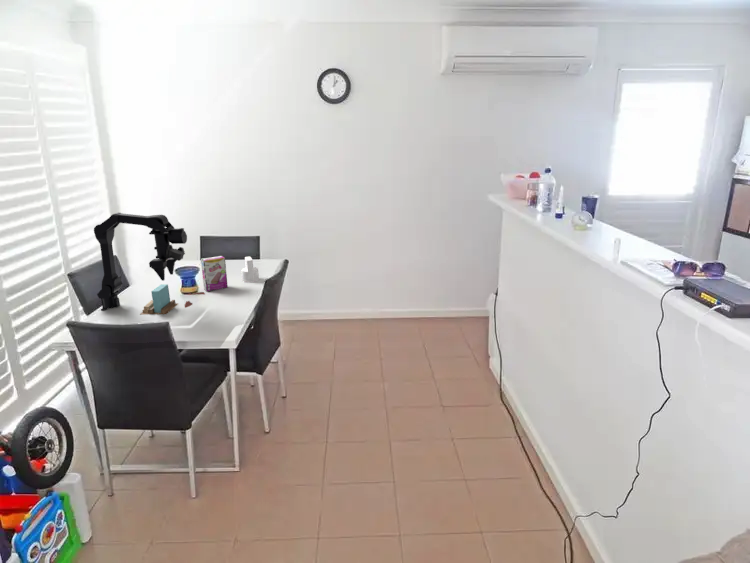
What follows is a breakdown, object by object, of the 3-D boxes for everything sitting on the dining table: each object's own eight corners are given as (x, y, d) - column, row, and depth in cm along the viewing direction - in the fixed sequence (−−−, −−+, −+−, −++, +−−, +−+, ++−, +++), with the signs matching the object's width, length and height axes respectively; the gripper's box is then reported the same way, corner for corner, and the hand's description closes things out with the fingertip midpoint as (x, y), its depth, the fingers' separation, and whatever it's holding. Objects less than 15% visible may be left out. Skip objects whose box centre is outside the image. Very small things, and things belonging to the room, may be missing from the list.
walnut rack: (139, 316, 221) (138, 310, 220) (153, 305, 235) (152, 299, 234) (166, 316, 221) (165, 309, 220) (179, 305, 234) (178, 299, 233)
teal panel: (154, 312, 223) (151, 291, 220) (164, 305, 232) (160, 284, 229) (161, 312, 223) (158, 291, 220) (170, 304, 232) (167, 284, 229)
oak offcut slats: (142, 312, 223) (141, 307, 222) (152, 305, 232) (151, 300, 232) (148, 312, 223) (147, 307, 222) (158, 305, 232) (157, 299, 232)
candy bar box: (207, 292, 253) (203, 260, 248) (203, 289, 257) (200, 258, 252) (228, 287, 259) (225, 257, 254) (225, 285, 263) (221, 255, 258)
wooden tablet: (205, 310, 229) (205, 307, 229) (182, 312, 227) (182, 309, 226) (206, 292, 254) (206, 289, 253) (185, 294, 251) (185, 291, 250)
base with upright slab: (260, 281, 270) (258, 259, 266) (243, 283, 266) (241, 261, 263) (257, 276, 278) (255, 255, 274) (241, 278, 274) (238, 257, 271)
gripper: (171, 248, 213) (176, 283, 218) (188, 239, 231) (192, 271, 236) (146, 248, 214) (151, 283, 218) (164, 239, 231) (169, 271, 236)
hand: (167, 277), depth 227 cm, fingers open, 9 cm apart
